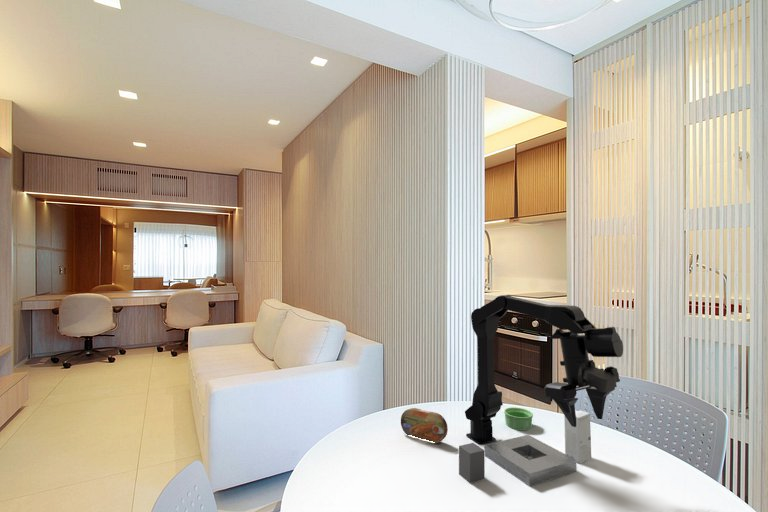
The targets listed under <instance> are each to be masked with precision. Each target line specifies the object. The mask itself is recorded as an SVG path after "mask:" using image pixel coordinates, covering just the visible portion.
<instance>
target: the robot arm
mask: <svg viewBox="0 0 768 512" xmlns="http://www.w3.org/2000/svg"><path fill="white" fill-rule="evenodd" d="M508 311H509V312H510V311H511V312H514V313H518V314H520V315H521V314H522V315H526V316H528V317H529V316H530V317H534V318H537V319H541V320H543V321H545V322H546V323H547V324H549V325H551V326H553V327H555V328H557V329H555V332H554V333H553V334H551V336H550V338H551V339H552V340H559V341H560V347H561V353H562V358H563V359H562V360H560V361H559V364H560V366H561V367H564V370H565V371H564V372H565V377H562V381H563V382H558V381H556V382H552V383H548V384H546V385H545V386H544V394H545V397H546V398H547V397H549V399H550V400H553V401H554V403H555V404H556V406H558V408H559V409H560V411H561V412H562V413H563V416H564V418H565V417H566V418H567V420H568V421H569V423H570V424H571V426H572V427H576V413H575V409H576V407H575V404H576V403H577V402H578V400H579V397H577V392H578V391H583V390H585V391H586V394H587V396H588V399H589V401H590V404H591V406H592V410H593V412H594V415H595V417H596V418H597V419H598V420H603V417H604V416H603V415H604V409H605V404H606V399H607V396H608V395H609V394H611V393H612V392H613V391H615V390H616V388H618V387H617V383H619V382H621V379H620V376H619V375H620V374H619V372H618V368H616V367H614V366H610V365H609V366H607V367H605V369H604V368H598V367H596V363H595V361H594V360H593V359H590V357H589V354H590V355H591V356H592V357H594V358H621V357H622V356H623V354H624V343H623V340H622V338H621V336H620V335H619V334H620V333H618V332H617V329H616V327H615V326H608V327H602V328H600V327H599V328H598V327H596V326H595V325H594V324H593V323H592V322H591V321H590V320H589V319H588V318H587V317H586V316H585V314H584V312H583V311H582V308H581V307H579V306H577V305H568V304H567V305H566V304H563V305H562V304H547V303H543V302H542V303H541V302H537V301H534V300H533V301H532V300H528V299H523V298H519V297H516V296H512V295H510V294H505V295H504V294H503V295H501V294H500V295H498V296H496V297H495V298H494V299H492V300H491V301H490V302H487V303H486V304H484V305H482V306H481V307H479V308H475V309H474V310H473V311H472V312H471V313H470V319H471V320H470V321H471V326H472V330H473V332H474V333H475V335H476V340H477V341H476V342H477V345H476V346H477V349H476V350H477V386H476V388H475V389H474V392H473V395H472V403H471V406H469V407H468V408H467V409H466V410H465V411H464V414H465V418H466V419H467V420H469V421H470V425H469V426H470V432H469V433H468V432H467V433H466V434H465V435H466V436H465V437H467V438H469V439H470V440H472V441H473V442H475V443H477V444H478V445H483V444H489V443H493V442H497V437H496V438H495V437H494V436H493V420H492V418H496V416H497V413H498V412H500V411H501V408H502V406H504V405H503V404H504V403H503V401H502V400H503V399H502V397H503V393H502V392H503V391H500V390H499V391H498V389H497V386H496V383H495V336H496V335H497V331H498V329H499V324H500V323H499V322H500V319H501V318H503V317H504V316H505V315H507V312H508Z"/></svg>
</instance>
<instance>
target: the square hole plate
mask: <svg viewBox="0 0 768 512" xmlns="http://www.w3.org/2000/svg"><path fill="white" fill-rule="evenodd" d="M484 450H485V457H486V458H487V459H489V460H490V461H492V462H493V463H494V464H496V465H498V466H500V468H502V469H504V470H505V471H506V472H507V473H508V474H511V475H512V476H514V477H515V478H516V479H518V480H520V481H521V482H522V483H524V484H525V485H526V486H528V487H533V486H536V485H540V484H542V483H546V482H548V481H553V480H555V479H559V478H562V477H565V476H567V475H568V476H569V475H572V474H575V473H577V472H578V471H577V462H576V460H575V459H573V458H572V457H570V456H568V455H566V454H565V452H564V453H563V452H562V451H560V450H558V449H557V448H554V447H553V446H551V445H548V444H547V443H545V442H543V441H541V440H539V439H537V438H535V437H533V436H531V435H529V434H526V435H522V436H517V437H513V438H508V439H504V440H499V441H494V442H489V443H485V444H484ZM526 457H530V458H531V459H528V458H526Z"/></svg>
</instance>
